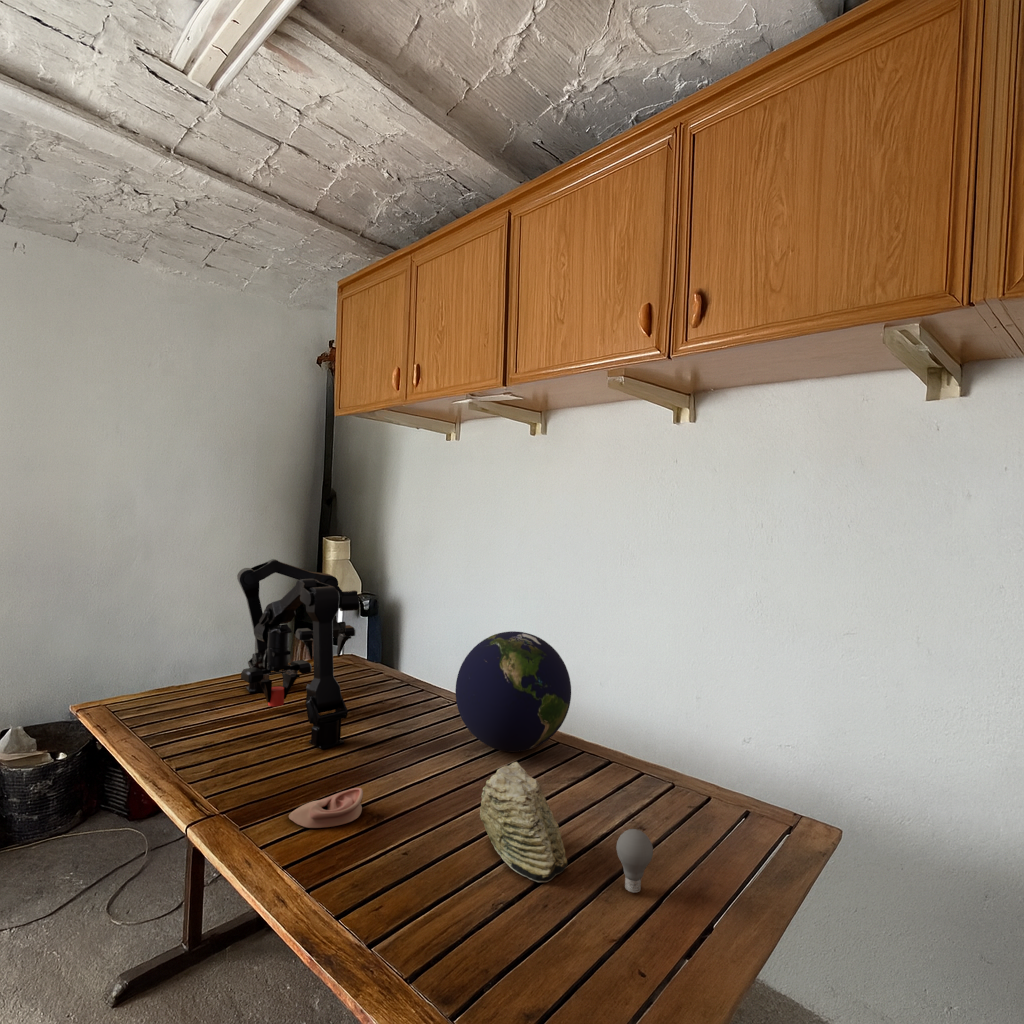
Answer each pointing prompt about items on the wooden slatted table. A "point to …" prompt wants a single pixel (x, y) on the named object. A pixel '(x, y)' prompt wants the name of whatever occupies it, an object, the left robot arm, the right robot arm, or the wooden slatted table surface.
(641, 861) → the light bulb
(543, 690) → the globe
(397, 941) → the wooden slatted table surface
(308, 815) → the anatomical model
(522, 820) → the fossil
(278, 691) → the canister
